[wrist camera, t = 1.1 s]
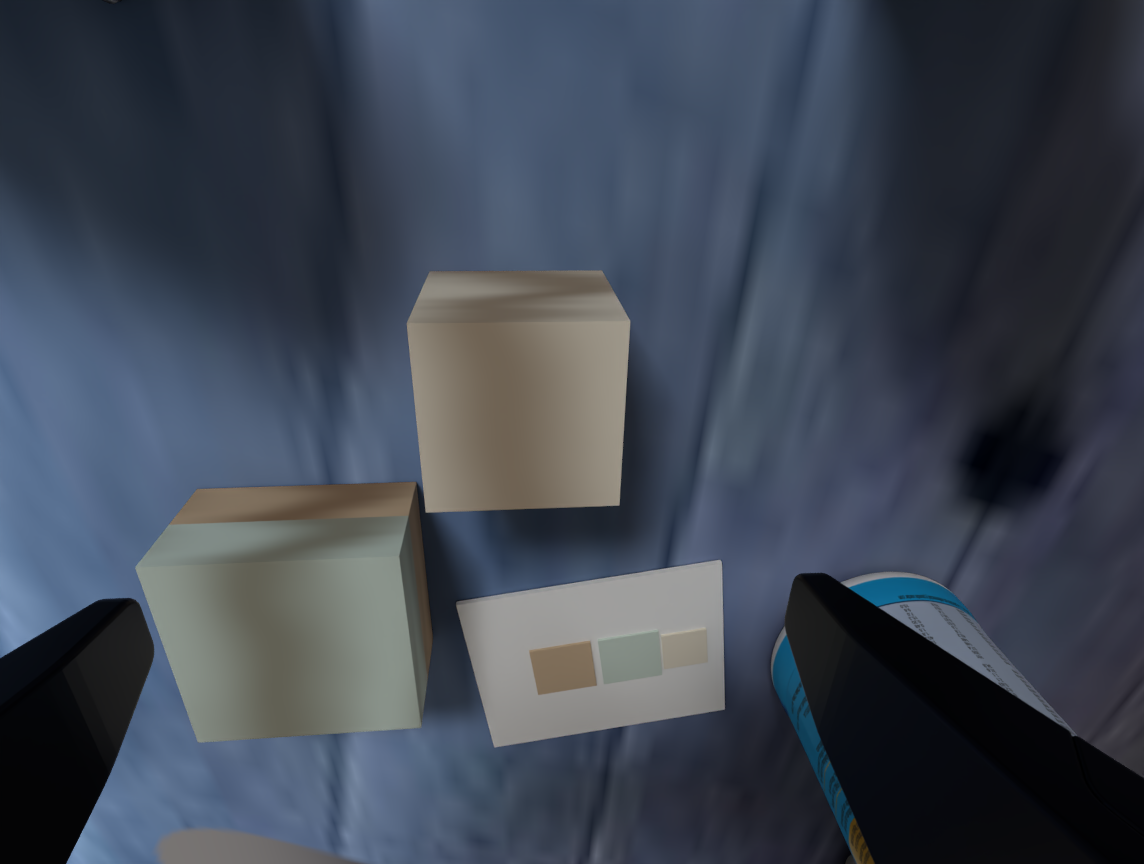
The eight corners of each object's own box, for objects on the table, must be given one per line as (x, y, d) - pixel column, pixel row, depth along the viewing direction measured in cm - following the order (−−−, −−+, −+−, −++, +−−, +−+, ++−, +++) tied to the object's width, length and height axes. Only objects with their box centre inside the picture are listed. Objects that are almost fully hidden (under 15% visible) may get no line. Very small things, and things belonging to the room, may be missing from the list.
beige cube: (601, 270, 19) (630, 320, 15) (595, 422, 22) (619, 505, 17) (429, 270, 19) (406, 323, 14) (442, 425, 21) (425, 512, 17)
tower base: (416, 481, 22) (399, 556, 18) (432, 638, 25) (421, 727, 21) (197, 489, 21) (135, 567, 18) (242, 648, 24) (198, 742, 21)
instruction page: (720, 559, 24) (722, 564, 24) (723, 705, 28) (725, 711, 28) (456, 601, 24) (455, 607, 24) (494, 743, 28) (494, 749, 28)
